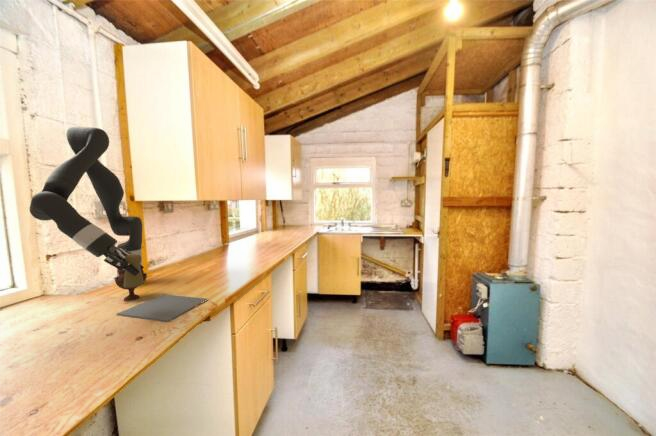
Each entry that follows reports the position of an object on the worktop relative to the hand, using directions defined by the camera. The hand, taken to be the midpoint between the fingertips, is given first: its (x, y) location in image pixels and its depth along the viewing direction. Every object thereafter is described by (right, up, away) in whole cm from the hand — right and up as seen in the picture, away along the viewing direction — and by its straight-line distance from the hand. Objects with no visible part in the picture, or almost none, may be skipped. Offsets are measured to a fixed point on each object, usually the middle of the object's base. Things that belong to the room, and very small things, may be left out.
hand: (139, 271), depth 94 cm
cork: (-2, -5, 0) cm, 5 cm away
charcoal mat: (+5, -15, +7) cm, 17 cm away
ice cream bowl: (-14, -15, +15) cm, 25 cm away
